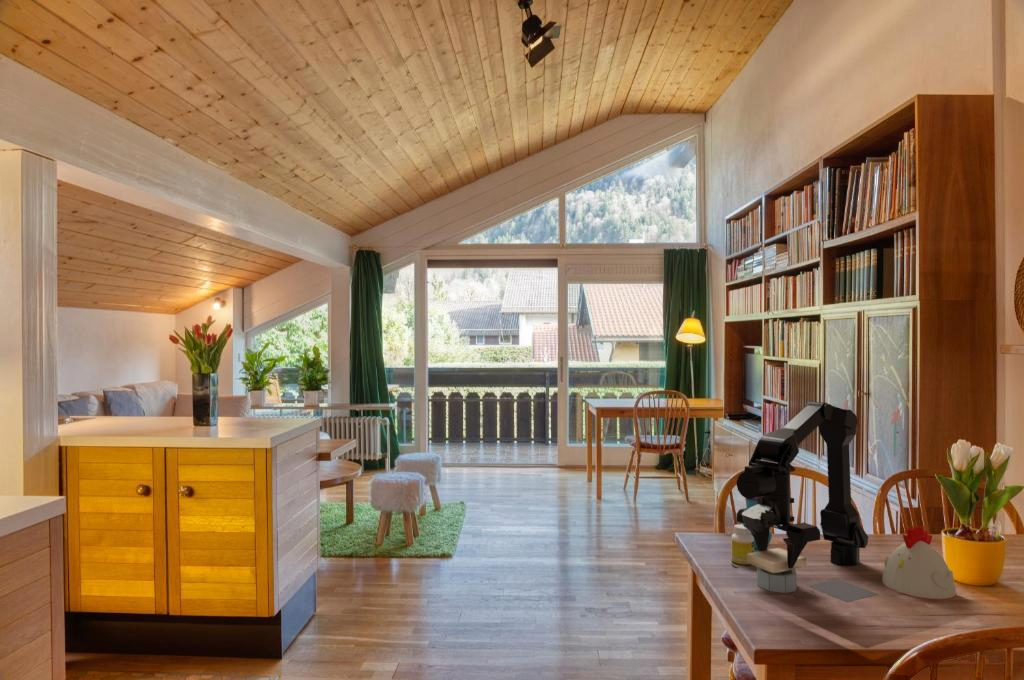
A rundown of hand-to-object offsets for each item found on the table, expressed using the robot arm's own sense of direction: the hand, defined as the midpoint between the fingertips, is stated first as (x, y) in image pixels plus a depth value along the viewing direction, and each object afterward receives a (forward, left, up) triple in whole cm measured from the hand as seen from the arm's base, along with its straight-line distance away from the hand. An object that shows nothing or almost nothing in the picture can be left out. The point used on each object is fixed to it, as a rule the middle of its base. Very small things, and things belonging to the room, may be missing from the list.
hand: (776, 562), depth 142 cm
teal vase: (-18, -24, -7) cm, 31 cm away
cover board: (0, 0, 0) cm, 0 cm away
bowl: (0, 0, -7) cm, 7 cm away
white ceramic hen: (-28, +14, -7) cm, 32 cm away
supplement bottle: (-6, -16, -7) cm, 18 cm away
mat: (-11, +8, -7) cm, 15 cm away
